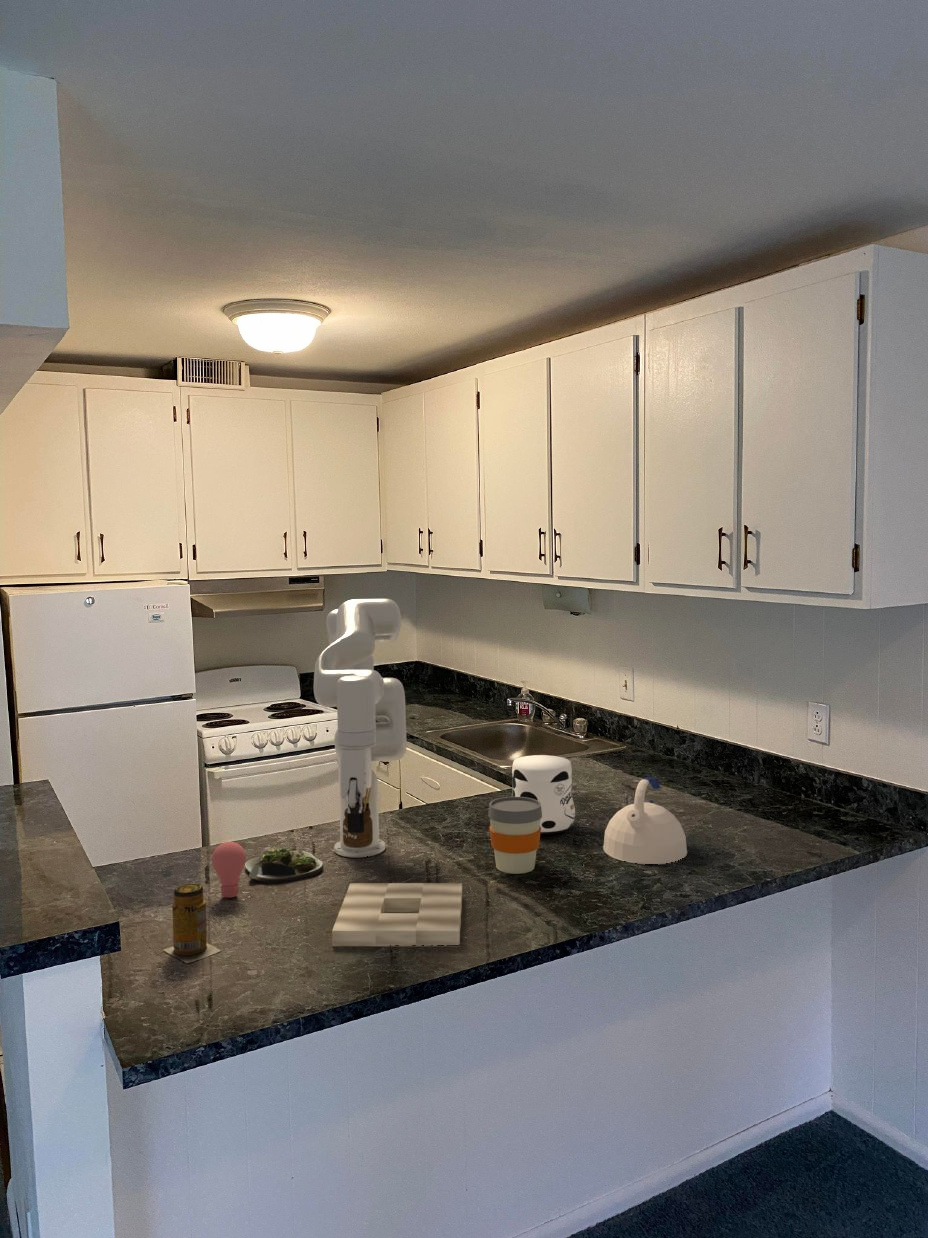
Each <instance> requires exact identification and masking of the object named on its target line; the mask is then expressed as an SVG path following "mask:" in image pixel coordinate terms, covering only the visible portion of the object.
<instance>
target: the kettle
mask: <svg viewBox="0 0 928 1238" xmlns="http://www.w3.org/2000/svg"><path fill="white" fill-rule="evenodd" d="M649 784H650V785H651V788H652V789H655V790H657V789H660V788H661V785H660V783H659V782H658V780H656V778H654V777H648V776H647V777H643V778H641V779H640V780H639V782H638V784H637V787H636V790H635V794H634V802H633V803H631V804H628V805H626V806H624V807H622V808H621V809H620V810H618V811H616V813H615V814H614V815H613V816H612V817H611V819H610V820H609V821H608V823H607V826H606V828H605V830H604V838H603V839H604V840H603V846H602V848H603V852H605V853H606V855H607V856H609V857H610V858H613V859H615V860H619V861H622V862H624V861H626V862H625V863H630V864H635V863H637V865H645V864H658V865H667V864H666V863H668V864H672V863H671V862H673V863H676V862H679V861H681V860H683V859H684V858H685V857H686V856H687V854H688V849H687V838H686V834H685V831H684V829H683V826H682V824H681V822H680V821H679V820H678V818H677V817H676V816H675V814H673V813H672V812H671V811H669V810H668V809H666V808H665V807H663V806H661V805H659V804H656V803H654V801H653V800H651V799H649V800H648V802H645V797H646V796H645V795H646V791H647V788H648V785H649ZM682 858H683V859H682ZM680 859H681V860H680ZM678 860H679V861H678ZM675 861H676V862H675Z"/></svg>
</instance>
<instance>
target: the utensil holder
mask: <svg viewBox="0 0 928 1238" xmlns="http://www.w3.org/2000/svg"><path fill="white" fill-rule="evenodd" d="M368 789H369V793H368ZM370 791H371V787H370V788H367V794H366V797H364V798H363V803H364V806H363V807H362V812H364V832H363V833H349V832H348V820H347V813H348V808H346V809H345V812H344V816H345V818H344V820H343V842H344V845H345V846H347V847H351V848H362V847H366V846H369V845H370V844H371V843H372V840H373V825H372V819H371V817H370V815H371V812H370V809H369V808H368V807H366V803H367V802H368V801H369V797H370ZM357 796H358V795H357ZM367 796H368V797H367ZM347 798H348V797H347ZM346 800H347V799H346ZM347 804H348V803H347Z"/></svg>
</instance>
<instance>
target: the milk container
mask: <svg viewBox="0 0 928 1238" xmlns="http://www.w3.org/2000/svg"><path fill="white" fill-rule="evenodd" d="M511 767H512V769H511V772H512V778H511V780H512V781H511V783H512V794H511V797H527V798H532V799H535V800H537V801H539V802H540V803H541V810H542V818H541V819H540V827H541V834H540V835H553V834H554V835H555V834H560V833H562V832H566V831H568V830H569V829H570V828H572V827H573V825H574V823H575V818H576V817H575V816H576V808H575V807H576V806H575V803H574V799H573V793H572V789H573V788H572V785H573V784H572V783H573V782H572V781H573V780H572V779H573V777H572V775H573V774H572V772H573V771H572V762H571V760H569V759H568V758H565V757H561V756H557V755H547V754H538V755H537V754H535V755H534V754H533V755H526V756H521V757H518V758H515V759H513V761H512V766H511Z"/></svg>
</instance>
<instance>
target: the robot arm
mask: <svg viewBox="0 0 928 1238" xmlns="http://www.w3.org/2000/svg"><path fill="white" fill-rule="evenodd" d="M401 627H402V615H401V611H400V607H399V606H398V604H397V602H395V601H394V600H393V599H391V598H356V599H355V598H353V599H349V600H347V601H344V602H343V603H342V604H340V605H339V606H338V608H336V609H333V610H331V611H330V612H329V613H328V614H327V617H326V628H327V633H328V637H329V640H330V642H331V643H330V644H329V645H328V646H327V647H325V648H324V649H323V651H322V652H321V653H320V654H318V655H319V656H318V657H317V659H316V660H315V666H314V671H313V672H314V673H313V694H314V695H313V696H314V699H315V701H316V703H317V704H318V705H320V706H321V707H326V708H333V707H334V708H335V707H336V708H337V711H336V714H337V715H336V716H337V717H336V719H337V720H336V721H337V730H336V731H335V734H334V738H333V739H334V749H335V754H336V760H337V769H338V790H339V791H338V794H339V795H338V797H339V801H338V802H339V827H340V828H339V833H340V834H339V837H340V840H339V841H337V842H336V843H334V846H333V850H334V851H333V852H335V854H337V855H339V856H341V857H345V858H346V857H347V858H367V856H368V857H373V856H376V855H378V854H381V853H382V852H384V851H385V849H386V842H385V841H384V840H382V839H380V827H379V826H380V825H379V824H380V823H379V780H378V776H377V774H376V773H375V772H374V770H373V769H372V763H373V762H376V763H377V762H393V761H400V760H402V759H403V758H404V757H405V755H406V751H407V721H406V720H407V718H406V716H407V715H406V712H407V711H406V696H405V689H404V685H403V683H402V682H401V681H400V680H399V679H397V678H396V677H395V678H394V677H383V676H382V675H381V674H380V673H379V671H377V670H374V669H375V665H374V664H375V663H374V660H375V659H374V657H373V654H374V652H375V650H376V649H375V648H376V643H392V642H395V641H396V640H397V639H398V637H399V635H400V631H401ZM376 717H377V718H378V717H379V718H381V717H383V718H386V720H387V722H386V721H384V722H382V721H379V722H376V721H377V720H376ZM370 787H371V791H370V797H369V801H368V802H367V803H366V807H368V808H369V809H370V812H371V815H370V817H371V819H372V825H373V840H372V843H371V844H370V845H369V846H366V847H362V848H351V847H347V846H345V845H344V842H343V820H344V818H345V816H344V812H345V809H346V808H348V813H347V820H348V832H349V833H363V832H364V812H362V807H363V806H364V803H363V798H364V797H366V794H367V788H370ZM368 793H369V789H368ZM357 795H358V796H357ZM347 797H348V798H347ZM367 797H368V796H367ZM346 799H347V800H346ZM347 803H348V804H347Z"/></svg>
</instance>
